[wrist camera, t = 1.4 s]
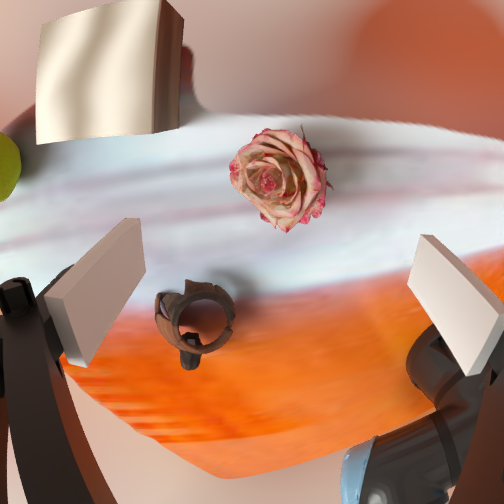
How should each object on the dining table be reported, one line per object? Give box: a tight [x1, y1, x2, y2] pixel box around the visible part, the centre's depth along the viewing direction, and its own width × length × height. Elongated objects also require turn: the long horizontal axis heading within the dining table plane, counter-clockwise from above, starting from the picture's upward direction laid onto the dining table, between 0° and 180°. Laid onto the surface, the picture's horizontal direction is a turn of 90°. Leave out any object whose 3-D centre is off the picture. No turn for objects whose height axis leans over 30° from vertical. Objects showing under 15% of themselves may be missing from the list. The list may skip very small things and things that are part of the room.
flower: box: [229, 124, 334, 233], centre depth 28 cm, size 10×9×8 cm
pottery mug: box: [155, 279, 235, 371], centre depth 36 cm, size 12×10×8 cm
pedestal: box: [36, 0, 184, 145], centre depth 23 cm, size 12×12×8 cm
